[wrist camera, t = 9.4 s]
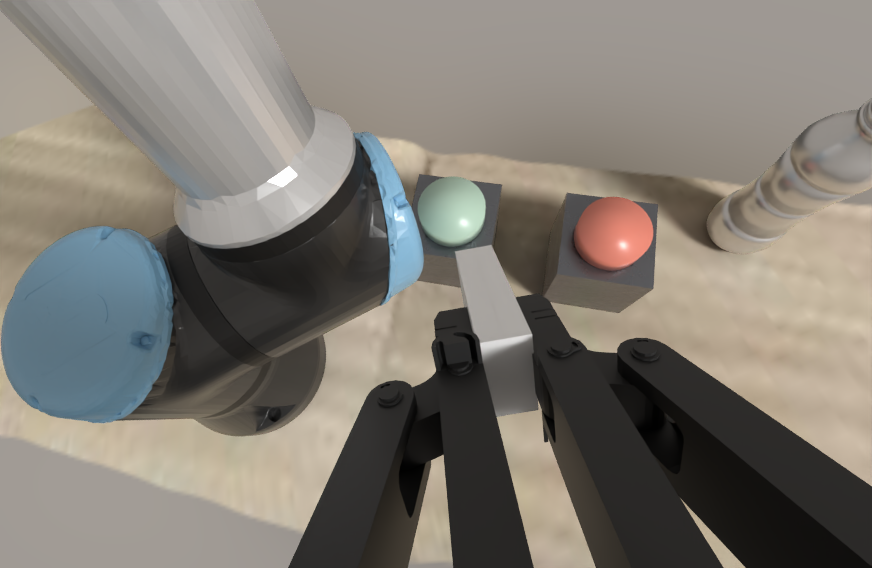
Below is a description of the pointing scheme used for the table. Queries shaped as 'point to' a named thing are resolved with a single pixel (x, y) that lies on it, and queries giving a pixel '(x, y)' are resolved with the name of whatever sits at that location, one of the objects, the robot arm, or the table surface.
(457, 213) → the green button
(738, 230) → the plastic bottle
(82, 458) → the table surface
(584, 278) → the red button post
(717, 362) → the table surface
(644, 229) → the red button
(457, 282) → the green button post
